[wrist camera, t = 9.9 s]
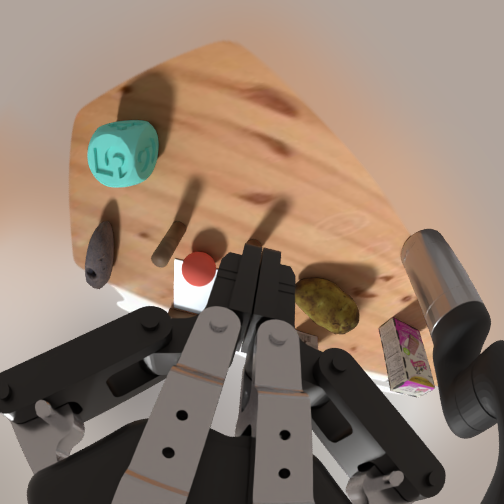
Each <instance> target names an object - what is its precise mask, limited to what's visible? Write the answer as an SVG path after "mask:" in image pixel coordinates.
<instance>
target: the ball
mask: <svg viewBox="0 0 504 504" xmlns="http://www.w3.org/2000/svg"><path fill="white" fill-rule="evenodd" d="M181 270H182V275H183V277H184V279H185V280H186V281H187V282H188V283H189V284H191V285H193V286H197V287H201V286H205V285H207V284H209V283H210V282H211V281H212V280H213V278H214V276H215V274H216V265H215V262H214V260H213V259H212V257H211V256H209V255H208V254H206V253H204V252H194V253H191V254H189V255H188V256H187V257H186V258H185V259H184V261H183V263H182V268H181Z"/></svg>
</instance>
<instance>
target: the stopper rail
mask: <svg viewBox="0 0 504 504" xmlns="http://www.w3.org/2000/svg"><path fill="white" fill-rule="evenodd" d="M168 314H169V316H170V317H171V318H189V317H193V316H196V315H194V314H190V313H186V312H183V311H179V310H175V309H172V308H170V309H169V312H168Z"/></svg>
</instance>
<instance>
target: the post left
mask: <svg viewBox="0 0 504 504" xmlns="http://www.w3.org/2000/svg"><path fill="white" fill-rule="evenodd" d="M185 232H186V227H185V225H184V224H183V223H181V222H174V223H173V224H172V226H171V227H170V229H169V230H168V232H167V233H166V235H165V236H164V238H163V239H162V241H161V242H160V244H159V246H158V247H157V249H156V250H155V252H154V253H153V255H152V257H151V260H152V262H153V263H154V264H155V265H156V266H158V267H165V266H166V265H167V264H168V262H169V260H170V258H171V256H172V255H173V253H174V251H175V249H176V247H177V246H178V244H179V242H180V240H181V239H182V237H183V235H184V233H185Z"/></svg>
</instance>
